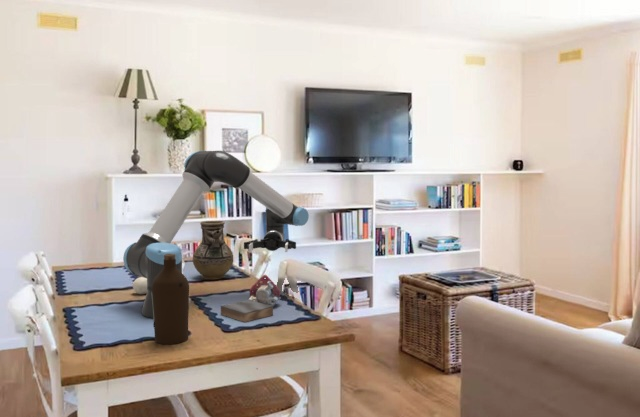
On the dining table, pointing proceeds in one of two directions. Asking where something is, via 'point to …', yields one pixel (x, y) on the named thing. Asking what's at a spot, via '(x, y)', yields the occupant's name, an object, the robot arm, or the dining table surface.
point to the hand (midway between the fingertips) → (267, 248)
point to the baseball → (140, 285)
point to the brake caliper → (265, 292)
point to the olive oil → (170, 303)
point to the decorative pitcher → (212, 252)
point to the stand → (246, 310)
